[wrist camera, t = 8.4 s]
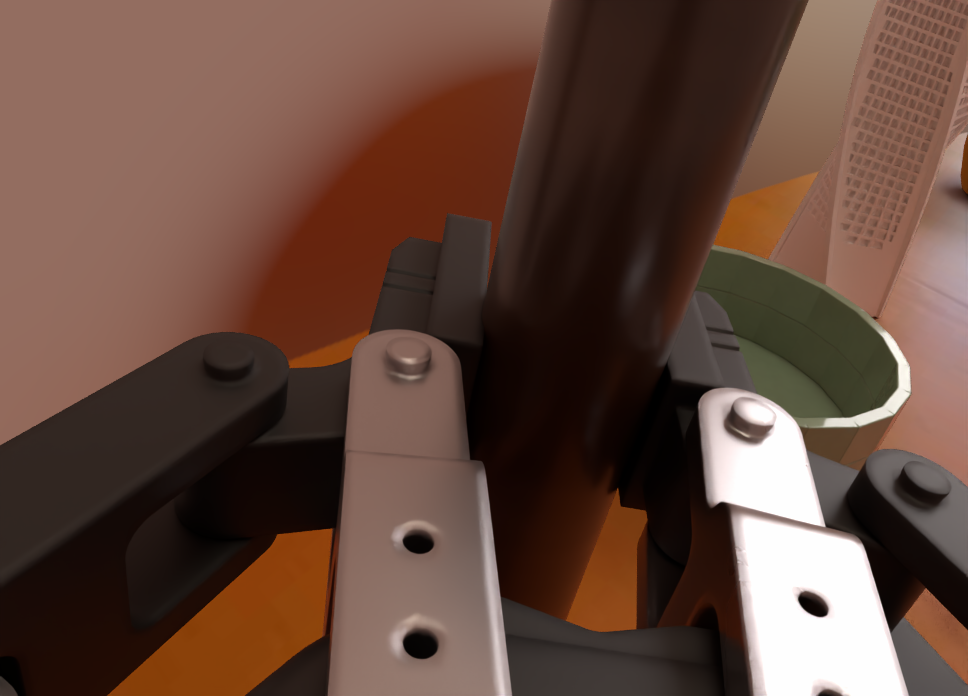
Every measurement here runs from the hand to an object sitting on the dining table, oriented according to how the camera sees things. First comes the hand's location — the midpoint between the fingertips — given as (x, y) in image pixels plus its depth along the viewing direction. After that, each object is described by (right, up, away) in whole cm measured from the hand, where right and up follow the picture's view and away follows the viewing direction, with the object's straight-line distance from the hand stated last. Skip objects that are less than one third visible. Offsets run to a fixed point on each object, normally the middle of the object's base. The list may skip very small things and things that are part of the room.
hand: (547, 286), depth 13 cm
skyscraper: (+19, +2, +37) cm, 42 cm away
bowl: (+9, -4, +25) cm, 27 cm away
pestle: (-2, -11, +4) cm, 11 cm away
